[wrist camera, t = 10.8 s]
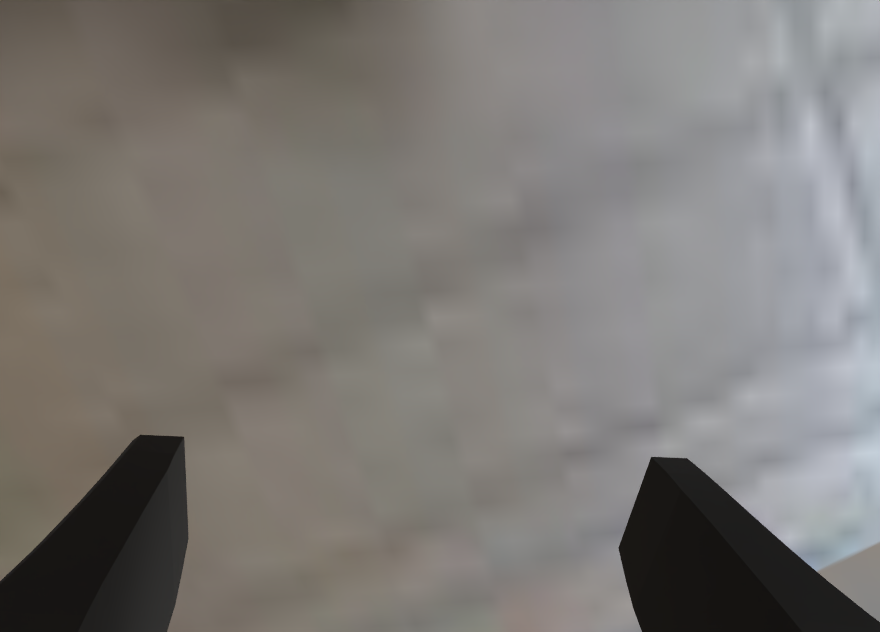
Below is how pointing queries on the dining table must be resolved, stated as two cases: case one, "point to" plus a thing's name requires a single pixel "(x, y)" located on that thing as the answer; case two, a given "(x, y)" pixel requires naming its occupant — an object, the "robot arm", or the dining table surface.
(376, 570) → the dining table surface
